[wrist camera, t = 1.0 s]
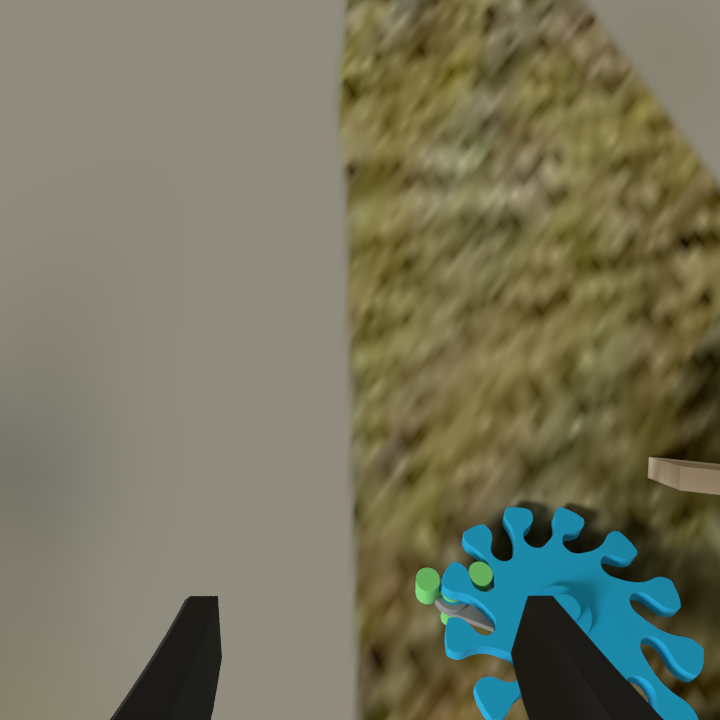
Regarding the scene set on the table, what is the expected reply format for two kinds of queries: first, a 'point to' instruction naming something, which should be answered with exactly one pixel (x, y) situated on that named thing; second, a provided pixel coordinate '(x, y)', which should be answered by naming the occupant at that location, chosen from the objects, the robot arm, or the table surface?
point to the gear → (574, 593)
